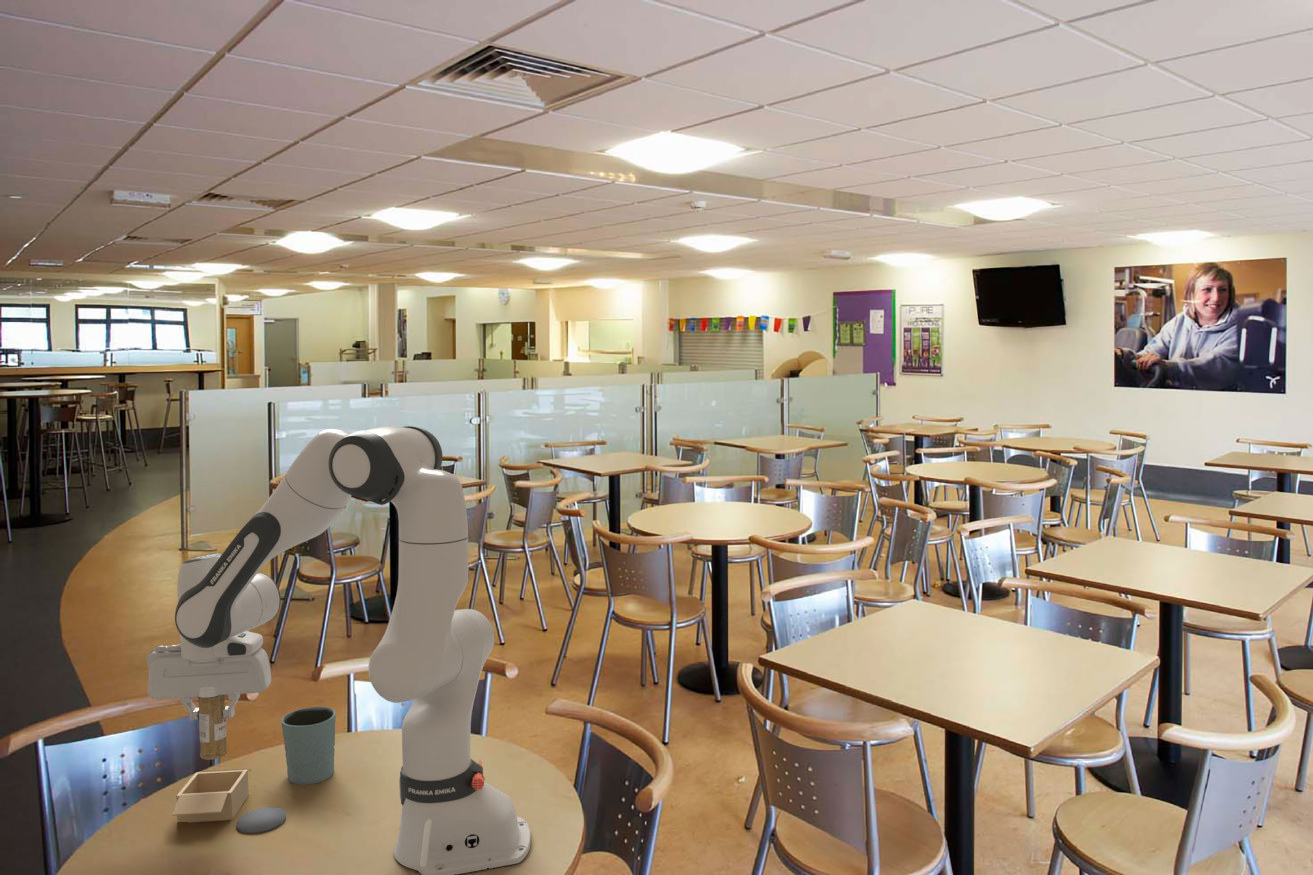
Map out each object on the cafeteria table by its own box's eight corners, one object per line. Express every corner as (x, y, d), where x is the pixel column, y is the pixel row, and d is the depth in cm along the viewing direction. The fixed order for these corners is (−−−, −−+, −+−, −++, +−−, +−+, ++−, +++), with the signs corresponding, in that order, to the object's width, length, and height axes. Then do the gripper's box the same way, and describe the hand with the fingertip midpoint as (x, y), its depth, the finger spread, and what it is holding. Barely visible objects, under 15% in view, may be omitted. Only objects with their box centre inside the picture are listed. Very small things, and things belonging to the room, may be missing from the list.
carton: (254, 785, 171) (253, 760, 171) (225, 830, 155) (224, 801, 154) (204, 788, 170) (203, 762, 170) (169, 833, 154) (167, 805, 153)
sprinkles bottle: (229, 756, 161) (226, 684, 160) (201, 762, 158) (198, 689, 157) (225, 747, 165) (223, 676, 164) (198, 753, 162) (195, 681, 161)
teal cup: (305, 790, 169) (304, 729, 168) (271, 778, 174) (269, 719, 173) (348, 770, 178) (347, 712, 177) (314, 758, 183) (312, 702, 182)
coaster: (291, 808, 162) (291, 805, 162) (279, 831, 154) (278, 828, 154) (245, 811, 161) (245, 808, 161) (230, 834, 153) (230, 831, 153)
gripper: (138, 652, 155) (143, 729, 156) (261, 645, 158) (265, 720, 159) (153, 641, 162) (158, 715, 163) (271, 634, 164) (275, 707, 165)
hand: (212, 718), depth 161 cm, fingers closed on sprinkles bottle, 4 cm apart
